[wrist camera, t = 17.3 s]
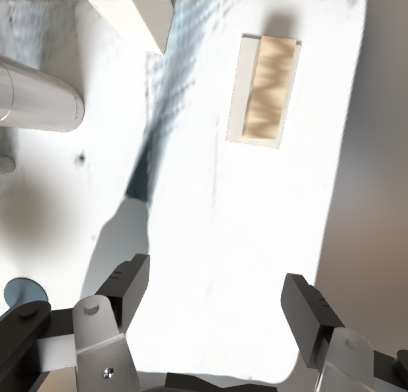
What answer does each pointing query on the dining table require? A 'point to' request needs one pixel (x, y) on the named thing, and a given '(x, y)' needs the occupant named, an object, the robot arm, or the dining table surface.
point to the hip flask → (6, 164)
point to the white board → (242, 92)
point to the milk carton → (139, 21)
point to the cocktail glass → (22, 294)
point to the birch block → (268, 87)
